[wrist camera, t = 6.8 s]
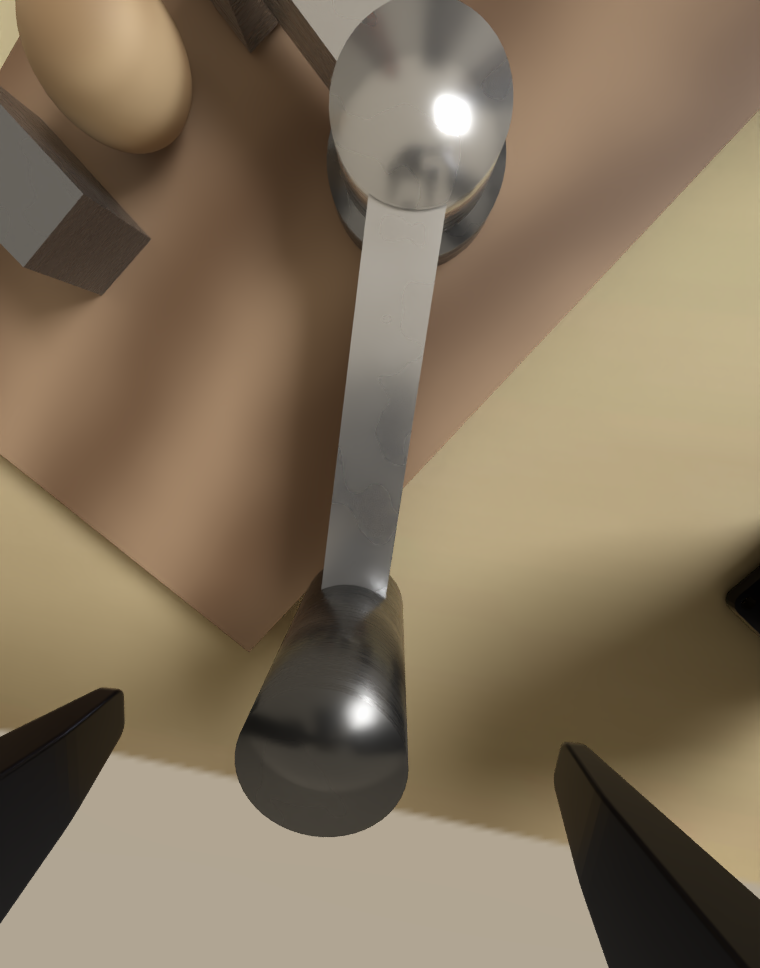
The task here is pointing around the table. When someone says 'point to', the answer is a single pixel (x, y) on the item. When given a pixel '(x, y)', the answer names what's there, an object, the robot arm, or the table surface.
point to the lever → (371, 384)
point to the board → (330, 281)
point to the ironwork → (106, 225)
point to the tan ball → (110, 68)
